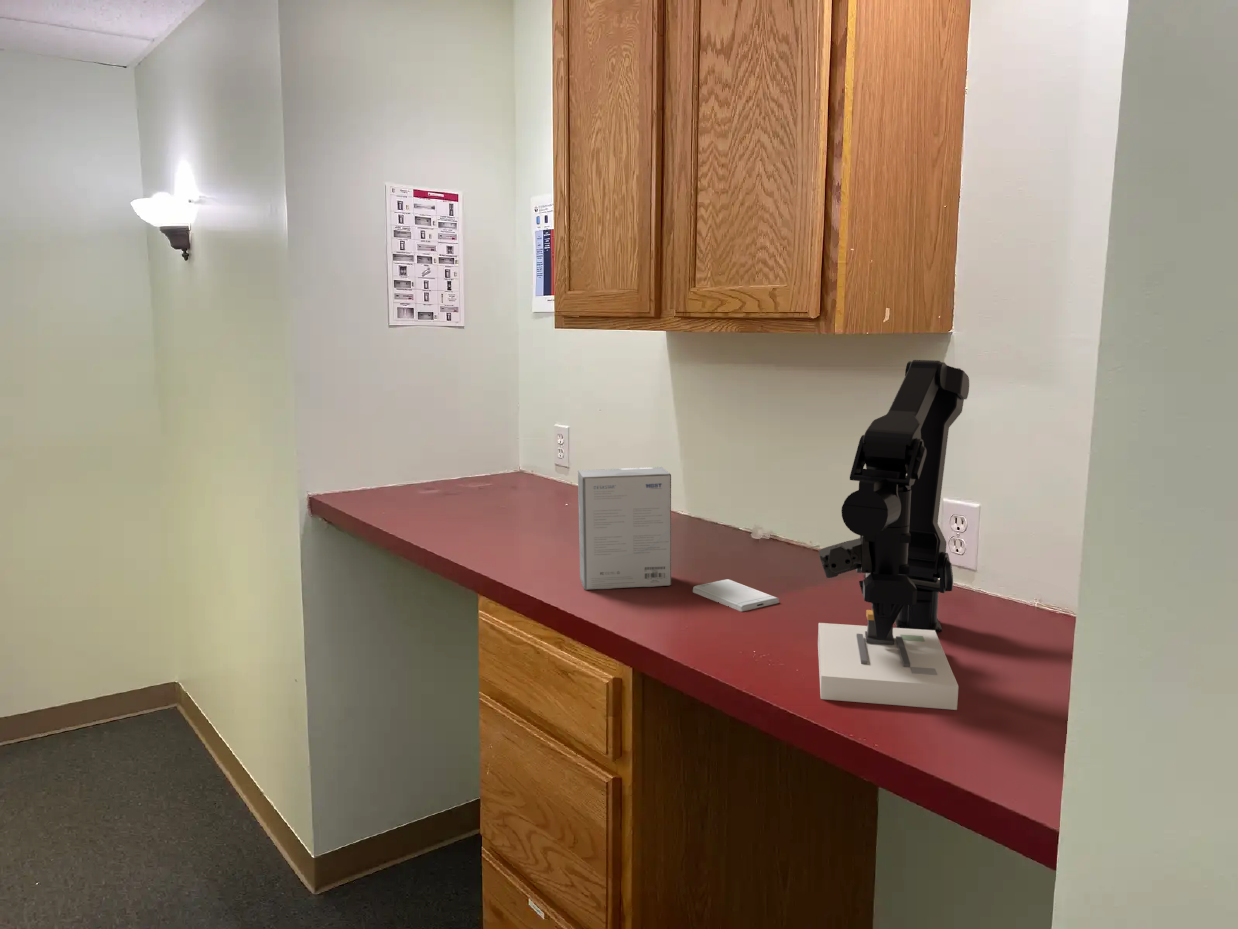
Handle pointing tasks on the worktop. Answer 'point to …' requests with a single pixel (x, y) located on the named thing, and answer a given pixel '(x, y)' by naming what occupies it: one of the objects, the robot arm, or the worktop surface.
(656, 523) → the hard drive box
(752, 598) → the hard drive
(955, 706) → the breaker box
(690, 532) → the worktop surface
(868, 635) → the breaker toggle
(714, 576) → the worktop surface
